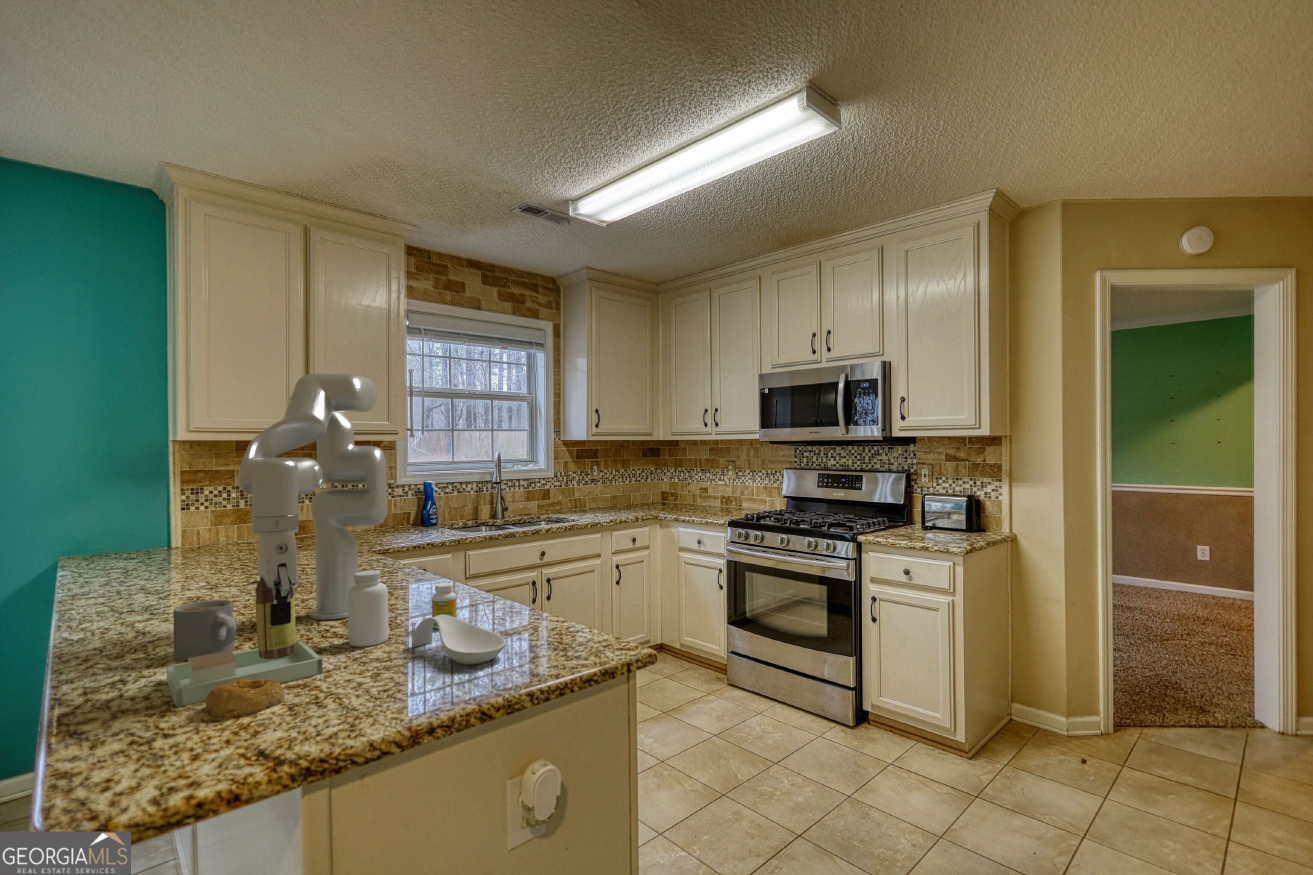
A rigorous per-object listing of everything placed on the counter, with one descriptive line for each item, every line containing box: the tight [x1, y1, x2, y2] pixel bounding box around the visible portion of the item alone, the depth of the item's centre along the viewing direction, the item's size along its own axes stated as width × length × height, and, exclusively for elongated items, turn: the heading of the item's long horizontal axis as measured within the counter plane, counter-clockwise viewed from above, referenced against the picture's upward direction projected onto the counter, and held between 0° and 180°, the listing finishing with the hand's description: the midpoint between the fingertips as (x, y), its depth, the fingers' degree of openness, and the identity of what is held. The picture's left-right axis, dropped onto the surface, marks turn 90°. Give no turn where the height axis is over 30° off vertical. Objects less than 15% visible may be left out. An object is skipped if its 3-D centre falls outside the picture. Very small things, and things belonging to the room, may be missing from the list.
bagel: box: [204, 679, 286, 719], centre depth 104 cm, size 10×11×5 cm
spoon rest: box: [411, 614, 507, 666], centre depth 129 cm, size 24×12×7 cm, turn 56°
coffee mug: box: [173, 599, 237, 662], centre depth 131 cm, size 13×10×10 cm
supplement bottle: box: [431, 582, 457, 630], centre depth 150 cm, size 5×5×10 cm
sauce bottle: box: [255, 548, 297, 659], centre depth 120 cm, size 7×6×20 cm
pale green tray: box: [166, 639, 323, 708], centre depth 116 cm, size 22×16×3 cm
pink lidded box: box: [187, 650, 237, 686], centre depth 113 cm, size 6×6×5 cm
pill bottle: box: [347, 569, 389, 648], centre depth 138 cm, size 8×8×15 cm
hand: (276, 619), depth 120 cm, fingers closed on sauce bottle, 6 cm apart
